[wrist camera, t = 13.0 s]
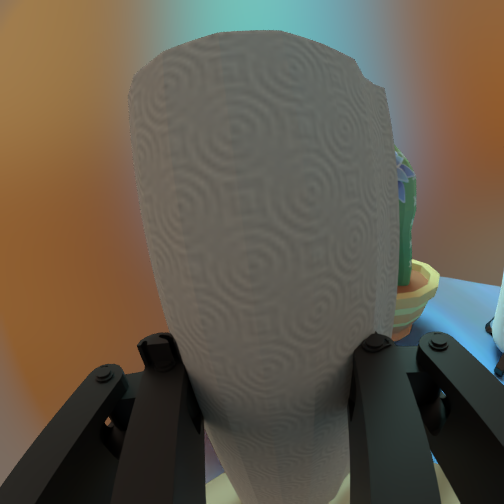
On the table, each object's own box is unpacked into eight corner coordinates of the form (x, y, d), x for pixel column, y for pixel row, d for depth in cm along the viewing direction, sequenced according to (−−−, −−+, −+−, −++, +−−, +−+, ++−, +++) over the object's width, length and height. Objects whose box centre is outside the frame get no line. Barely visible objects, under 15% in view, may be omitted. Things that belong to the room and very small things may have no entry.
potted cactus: (310, 331, 37) (294, 147, 31) (368, 293, 45) (362, 149, 39) (402, 373, 25) (414, 130, 18) (445, 315, 33) (451, 144, 26)
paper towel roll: (223, 508, 11) (84, 96, 5) (263, 447, 16) (208, 112, 10) (333, 536, 8) (379, -19, 2) (358, 465, 13) (383, 82, 7)
